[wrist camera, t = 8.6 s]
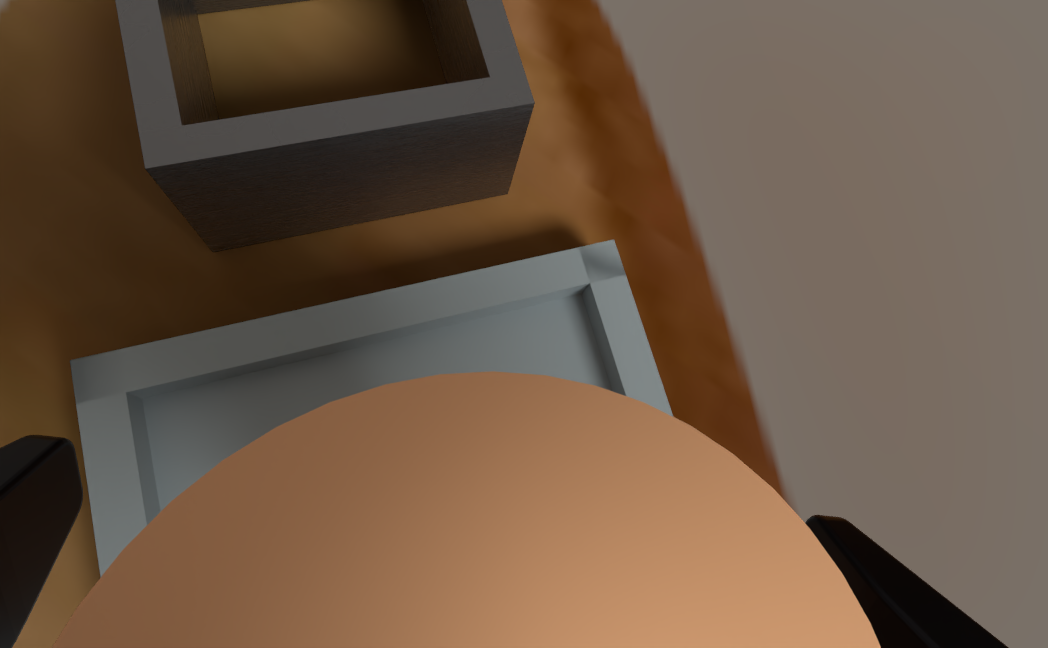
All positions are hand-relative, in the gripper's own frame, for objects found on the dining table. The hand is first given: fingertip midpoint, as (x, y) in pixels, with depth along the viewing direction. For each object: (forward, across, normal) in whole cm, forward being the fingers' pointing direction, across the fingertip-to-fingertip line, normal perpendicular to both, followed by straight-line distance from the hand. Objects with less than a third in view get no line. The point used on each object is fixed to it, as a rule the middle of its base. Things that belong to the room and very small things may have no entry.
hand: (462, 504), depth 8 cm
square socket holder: (+14, +4, -2) cm, 15 cm away
